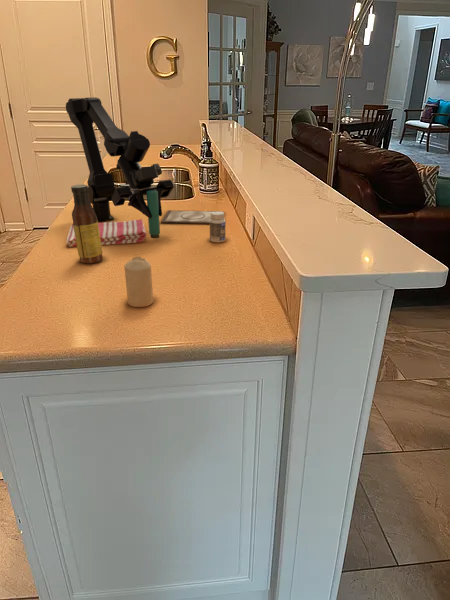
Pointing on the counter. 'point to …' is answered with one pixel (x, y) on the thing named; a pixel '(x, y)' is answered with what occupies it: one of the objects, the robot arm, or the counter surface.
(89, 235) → the sauce bottle
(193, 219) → the gray flat panel
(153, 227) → the dot marker
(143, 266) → the candle
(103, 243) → the dish towel
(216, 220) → the pill bottle
